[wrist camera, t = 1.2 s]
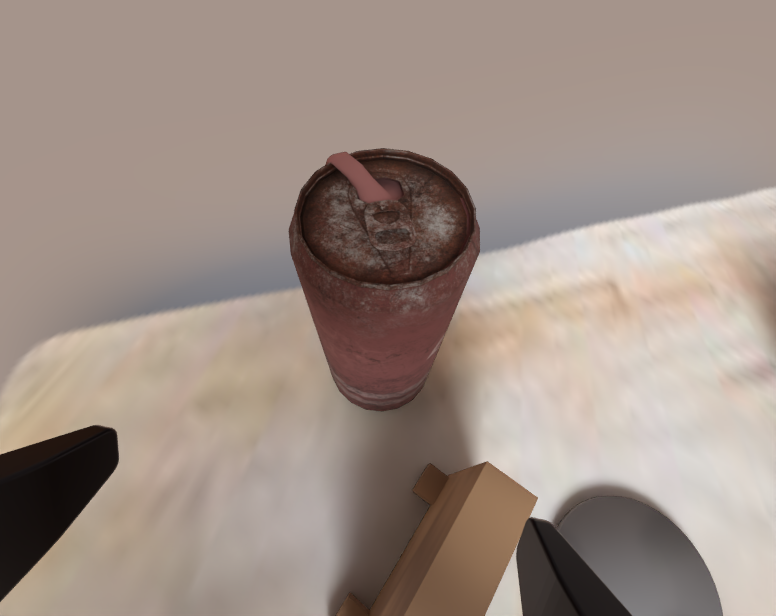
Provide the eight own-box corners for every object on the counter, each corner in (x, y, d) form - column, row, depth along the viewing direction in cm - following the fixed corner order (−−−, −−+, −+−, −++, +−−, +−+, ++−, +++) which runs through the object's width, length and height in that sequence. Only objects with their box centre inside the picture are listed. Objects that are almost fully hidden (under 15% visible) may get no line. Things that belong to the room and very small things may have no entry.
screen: (403, 707, 16) (427, 878, 9) (325, 631, 17) (289, 726, 10) (499, 514, 19) (570, 521, 12) (429, 461, 20) (458, 440, 13)
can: (376, 302, 25) (377, 111, 13) (446, 363, 23) (528, 206, 11) (309, 362, 23) (233, 200, 11) (381, 434, 21) (390, 340, 9)
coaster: (692, 750, 15) (702, 758, 15) (521, 611, 17) (525, 614, 17) (730, 564, 18) (739, 565, 18) (582, 464, 21) (587, 464, 20)
